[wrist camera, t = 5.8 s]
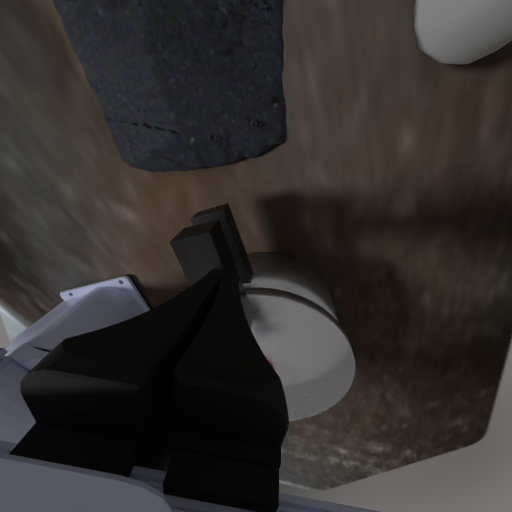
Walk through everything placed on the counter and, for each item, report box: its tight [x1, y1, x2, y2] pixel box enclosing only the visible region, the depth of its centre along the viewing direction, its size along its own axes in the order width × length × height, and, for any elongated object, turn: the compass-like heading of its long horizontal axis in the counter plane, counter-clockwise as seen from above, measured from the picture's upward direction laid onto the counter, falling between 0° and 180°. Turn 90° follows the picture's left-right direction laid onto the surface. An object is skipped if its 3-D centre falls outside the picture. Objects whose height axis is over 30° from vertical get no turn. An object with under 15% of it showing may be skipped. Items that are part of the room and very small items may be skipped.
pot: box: [191, 203, 339, 322], centre depth 21 cm, size 20×14×6 cm
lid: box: [170, 220, 355, 421], centre depth 17 cm, size 20×15×3 cm
